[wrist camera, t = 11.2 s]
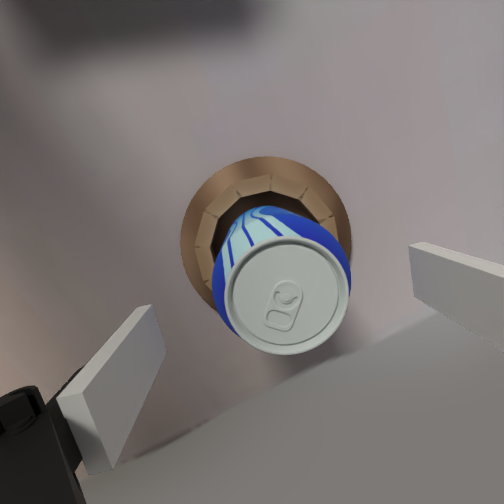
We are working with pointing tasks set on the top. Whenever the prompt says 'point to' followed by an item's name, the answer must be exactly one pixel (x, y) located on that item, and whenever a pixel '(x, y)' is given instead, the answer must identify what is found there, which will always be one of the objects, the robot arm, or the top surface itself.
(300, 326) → the beer can
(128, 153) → the top surface
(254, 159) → the round brown bowl
